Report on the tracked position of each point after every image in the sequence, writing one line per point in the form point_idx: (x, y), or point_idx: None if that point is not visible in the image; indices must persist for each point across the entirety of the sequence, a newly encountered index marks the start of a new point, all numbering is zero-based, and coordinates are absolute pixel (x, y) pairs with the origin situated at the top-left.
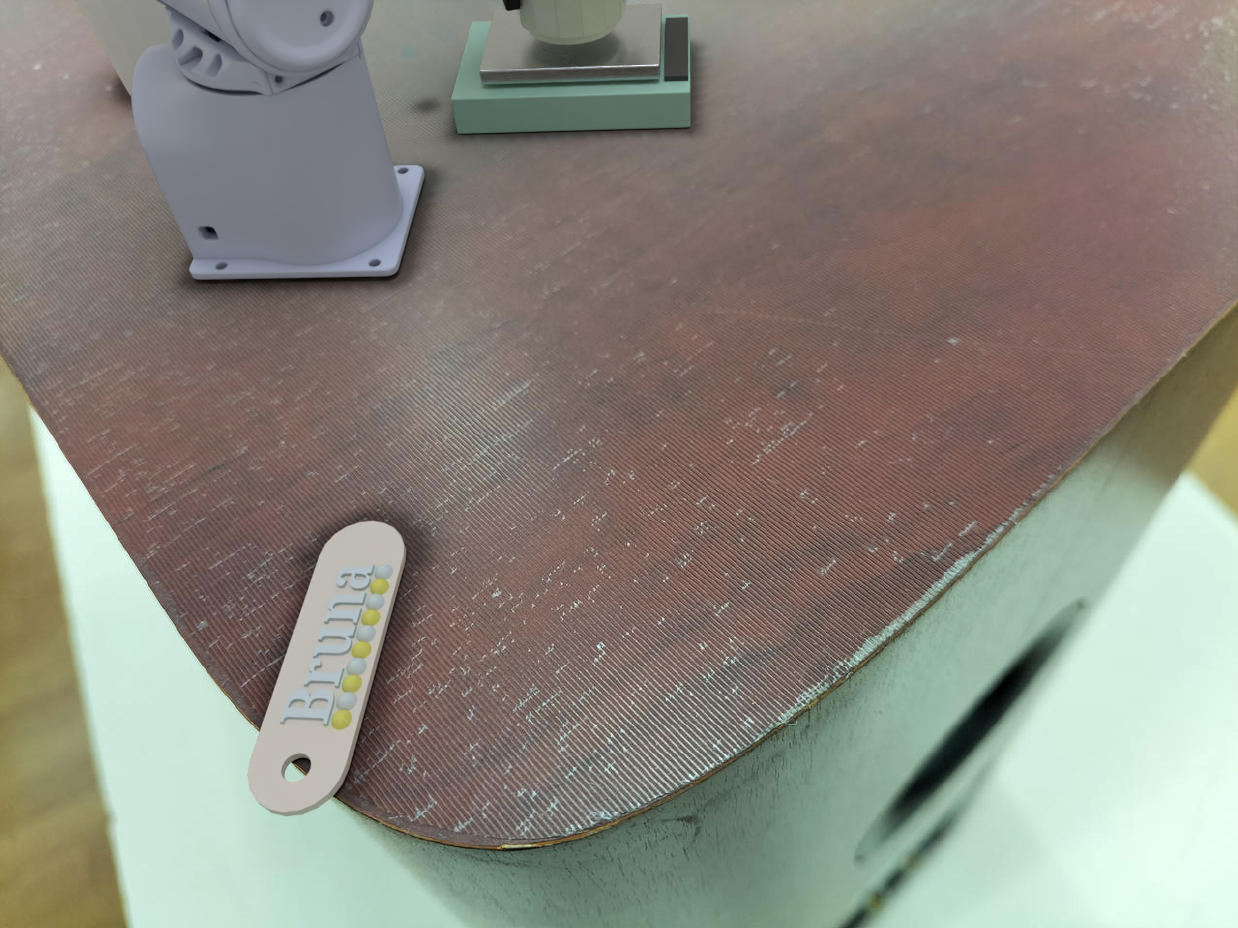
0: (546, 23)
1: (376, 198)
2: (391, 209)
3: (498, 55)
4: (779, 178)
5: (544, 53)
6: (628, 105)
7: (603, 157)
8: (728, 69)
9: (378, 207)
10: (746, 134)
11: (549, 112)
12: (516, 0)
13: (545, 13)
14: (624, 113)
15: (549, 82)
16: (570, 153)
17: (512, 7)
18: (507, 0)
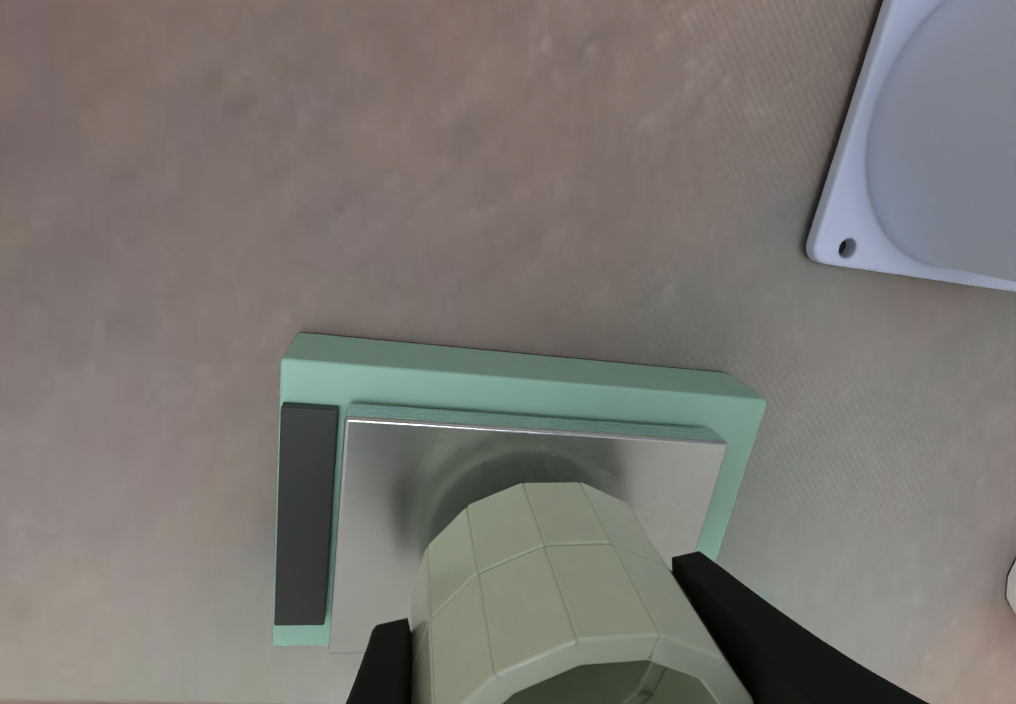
0: (613, 511)
1: (998, 11)
2: (926, 57)
3: (684, 493)
4: (94, 108)
5: None
6: (423, 361)
7: (481, 260)
8: (210, 521)
9: (976, 19)
10: (174, 293)
11: (580, 372)
12: (690, 568)
13: (622, 526)
14: (432, 355)
15: (585, 420)
16: (542, 284)
17: (693, 557)
18: (715, 563)
